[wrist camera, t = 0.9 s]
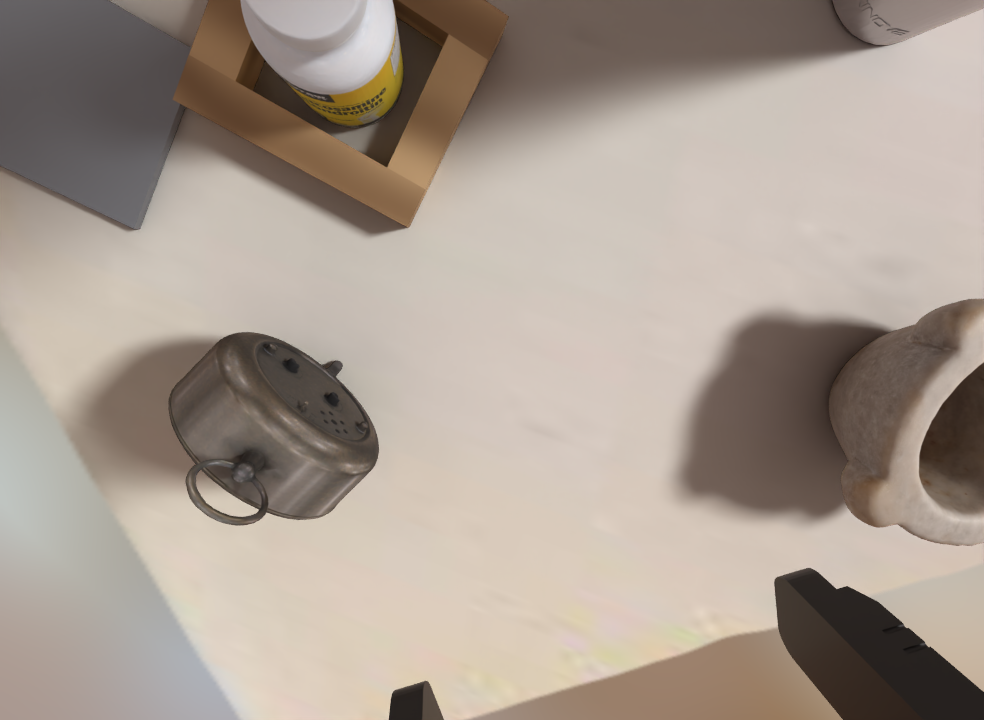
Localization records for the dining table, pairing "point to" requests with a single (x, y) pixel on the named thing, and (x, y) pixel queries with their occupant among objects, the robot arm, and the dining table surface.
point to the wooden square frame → (389, 190)
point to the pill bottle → (332, 54)
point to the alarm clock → (271, 429)
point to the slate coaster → (88, 101)
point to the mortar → (917, 427)
